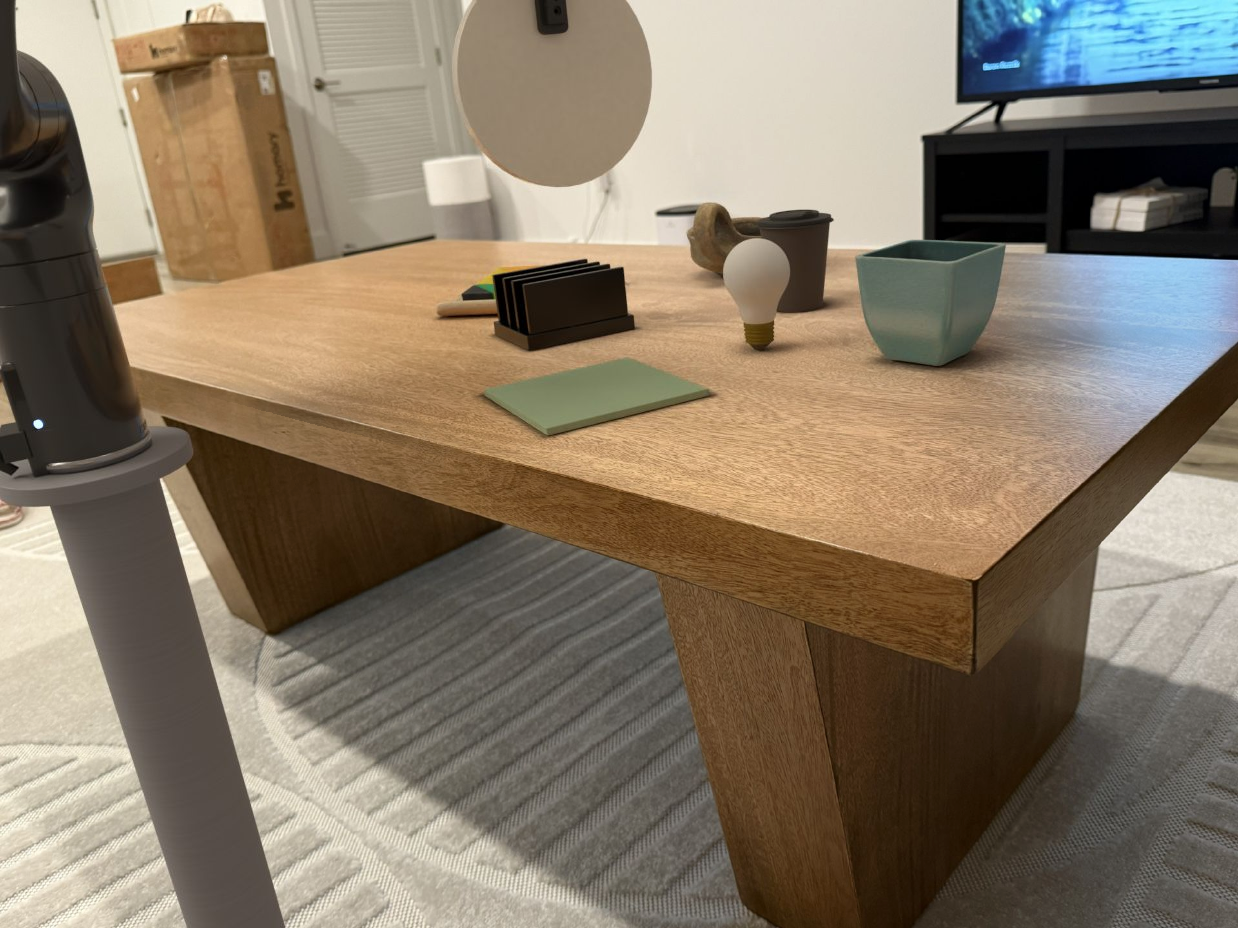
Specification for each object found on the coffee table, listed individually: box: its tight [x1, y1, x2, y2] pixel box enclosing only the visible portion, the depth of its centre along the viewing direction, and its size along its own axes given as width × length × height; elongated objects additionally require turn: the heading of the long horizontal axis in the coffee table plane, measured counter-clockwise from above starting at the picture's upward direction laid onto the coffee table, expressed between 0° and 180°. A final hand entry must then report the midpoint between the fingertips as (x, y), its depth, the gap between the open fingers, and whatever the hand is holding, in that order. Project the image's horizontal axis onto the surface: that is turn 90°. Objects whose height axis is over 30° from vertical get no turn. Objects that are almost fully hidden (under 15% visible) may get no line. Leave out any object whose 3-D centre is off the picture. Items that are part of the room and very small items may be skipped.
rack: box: [492, 258, 636, 352], centre depth 104 cm, size 12×10×6 cm
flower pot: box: [854, 239, 1007, 367], centre depth 81 cm, size 9×9×9 cm
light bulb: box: [722, 238, 790, 351], centre depth 88 cm, size 6×6×10 cm
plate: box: [451, 0, 653, 188], centre depth 75 cm, size 16×1×16 cm, turn 117°
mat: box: [483, 356, 710, 437], centre depth 81 cm, size 14×14×1 cm
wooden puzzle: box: [435, 264, 546, 317], centre depth 123 cm, size 18×19×4 cm
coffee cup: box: [755, 209, 835, 313], centre depth 104 cm, size 8×8×10 cm
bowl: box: [685, 201, 766, 275], centre depth 124 cm, size 14×18×10 cm
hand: (548, 34), depth 73 cm, fingers closed on plate, 1 cm apart
